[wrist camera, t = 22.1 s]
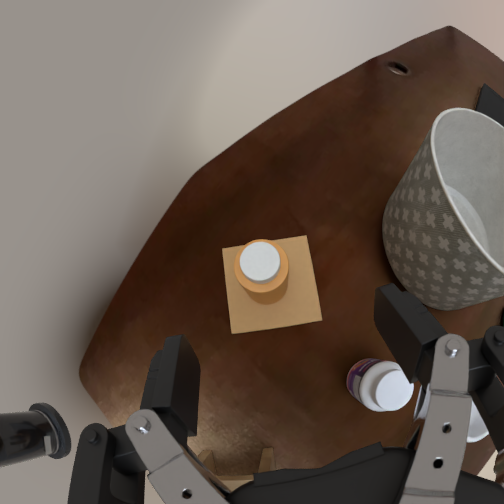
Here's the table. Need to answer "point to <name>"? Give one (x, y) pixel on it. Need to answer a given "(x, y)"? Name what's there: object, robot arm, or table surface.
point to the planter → (451, 214)
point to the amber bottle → (262, 271)
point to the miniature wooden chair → (236, 481)
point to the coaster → (286, 309)
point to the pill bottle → (379, 384)
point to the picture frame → (491, 104)
